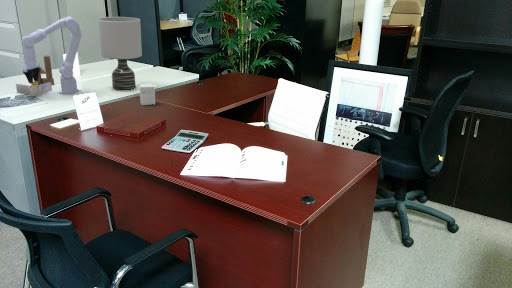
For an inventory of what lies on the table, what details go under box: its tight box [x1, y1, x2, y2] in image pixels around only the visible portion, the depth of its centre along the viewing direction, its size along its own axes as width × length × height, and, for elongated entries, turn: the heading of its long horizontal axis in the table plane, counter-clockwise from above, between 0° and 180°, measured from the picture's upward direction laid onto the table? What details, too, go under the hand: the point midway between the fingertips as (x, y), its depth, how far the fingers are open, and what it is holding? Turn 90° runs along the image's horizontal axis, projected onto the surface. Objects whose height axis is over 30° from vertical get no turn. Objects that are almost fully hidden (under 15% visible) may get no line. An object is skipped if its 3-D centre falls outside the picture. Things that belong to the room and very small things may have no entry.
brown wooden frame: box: [33, 55, 55, 86], centre depth 277 cm, size 4×11×18 cm, turn 100°
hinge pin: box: [29, 81, 38, 88], centre depth 257 cm, size 4×4×8 cm
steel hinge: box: [15, 82, 53, 97], centre depth 262 cm, size 16×16×5 cm
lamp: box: [97, 16, 143, 91], centre depth 273 cm, size 24×24×42 cm
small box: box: [139, 83, 156, 106], centre depth 251 cm, size 8×6×10 cm
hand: (33, 81), depth 255 cm, fingers open, 5 cm apart
